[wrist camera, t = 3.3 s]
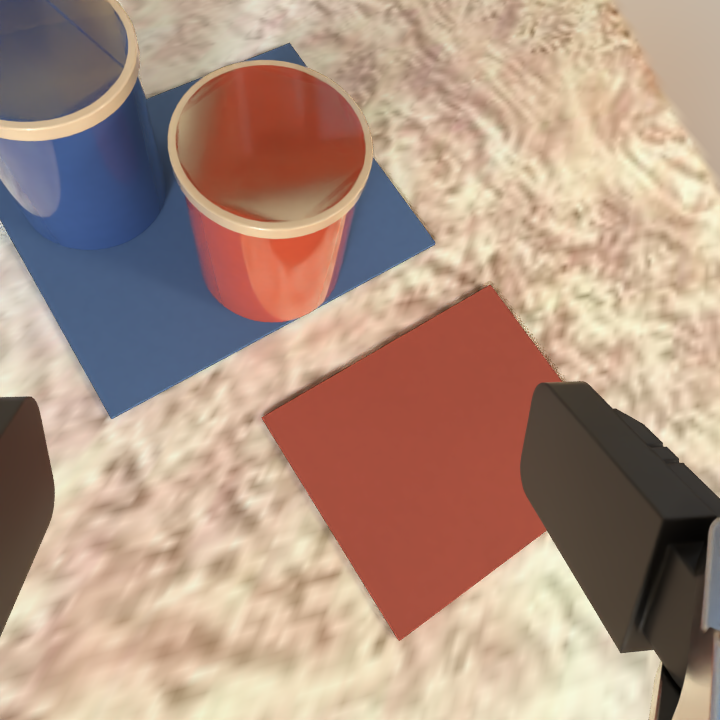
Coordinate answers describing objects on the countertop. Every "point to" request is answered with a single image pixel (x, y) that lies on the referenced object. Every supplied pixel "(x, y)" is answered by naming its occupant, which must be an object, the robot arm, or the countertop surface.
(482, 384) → the rust mat
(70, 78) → the blue crock
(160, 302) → the blue mat
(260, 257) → the red tapered cylinder
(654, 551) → the robot arm
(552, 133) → the countertop surface
